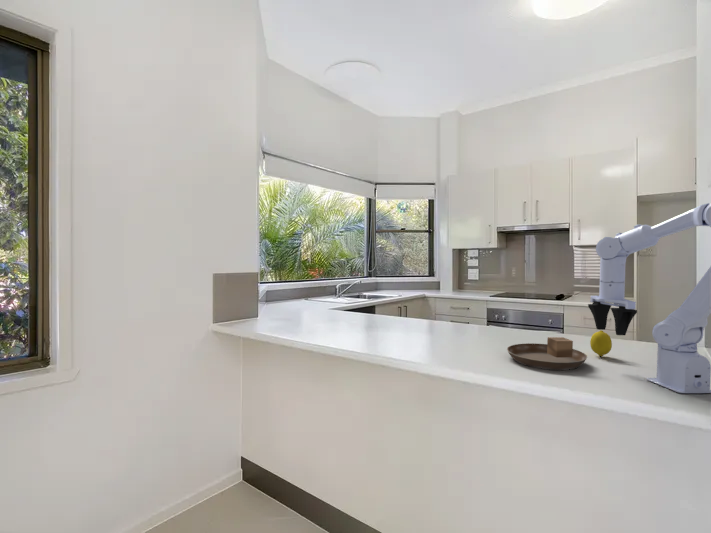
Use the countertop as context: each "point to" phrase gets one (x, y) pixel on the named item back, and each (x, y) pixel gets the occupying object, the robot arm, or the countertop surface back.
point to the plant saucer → (544, 357)
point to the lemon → (601, 343)
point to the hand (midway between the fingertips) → (610, 332)
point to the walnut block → (559, 347)
